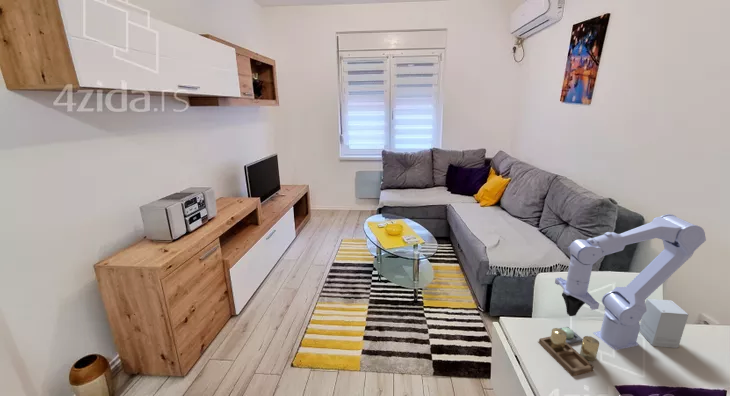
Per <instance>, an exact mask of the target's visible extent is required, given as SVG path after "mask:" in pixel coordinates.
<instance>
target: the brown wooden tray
mask: <svg viewBox="0 0 730 396" xmlns="http://www.w3.org/2000/svg"><path fill="white" fill-rule="evenodd" d="M550 339H551V335H550V336H546V337H541V338H539V340H538V341H537V343H538V345H540V346H541V347H542V348H543V349H544V350H545V351H546V352H547V353H548V354H549V355H550V356H551V357H552V358H553V360H554V361H556V362H557V364H559V365H560V366H561V367H562V368H563V369H564V370H565V371H566V372H567V373H568V374H569V375H570V377H576V376H580V375H583V374H588V373H592V372H593V373H594V372H595V370H594V368H595V367H594V366H593V364H591V362H590V361H587V360H586V359H585V358H583V357H582V356H581V355H580V352H578V351H577V350H576V349H575V348H574V347H573V346H571V344H568V343H567V342H565V348H564V351H561V352H555V351H554V350H553V349H552V348H551V347H550V346H549V345H550Z"/></svg>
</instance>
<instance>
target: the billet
mask: <svg viewBox="0 0 730 396" xmlns="http://www.w3.org/2000/svg"><path fill="white" fill-rule="evenodd" d="M582 339H583V340H582V342H581V347H580V352H579V354H580V355H581V356H582V357H583V358H585V359H586V360H587V361H588V362H589V363H591V362H592V363H593V362H596V360H597V355H598V353H599V352H598V351H599V347H600V341H599V340H598V339H597V338H595V337H592V336H588V335H586V336H585V335H584V336H583V337H582Z"/></svg>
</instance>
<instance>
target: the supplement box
mask: <svg viewBox="0 0 730 396" xmlns="http://www.w3.org/2000/svg"><path fill="white" fill-rule="evenodd" d="M645 303H646V308H647V311H646V312H645V313H644V314H643V316H642V319H641V320H640V322H639V323H640V330H639V332H640V334H641V333H642V334H643V335H642V334H641V335H642V336H643V337H644V338H645V339H646V340H647V342H648V343H649V344H650V345H651V346H654V347H663V348H664V347H665V348H673V349H678V348H679V347H680V343H681V340H682V337H683V335H684V330H685V327H686V323H687V321H688V317H689V313H688V312H686V310H684V309H683V308H682V307H680V306H679V305H678V304H677V303H676V302H674V301H673V300H671V299H655V298H654V299H652V298H646V299H645Z"/></svg>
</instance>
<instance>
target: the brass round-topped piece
mask: <svg viewBox="0 0 730 396" xmlns="http://www.w3.org/2000/svg"><path fill="white" fill-rule="evenodd" d="M550 336H551V339H550V345H549V346H550V347H551V348H552V349H553V350H554V351H555V352H561V351H564V348H565V342H566V337H567V333H566V332H565V331H564V330H562V329H559V328H558V327H554V328H552V329H551V333H550Z"/></svg>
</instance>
